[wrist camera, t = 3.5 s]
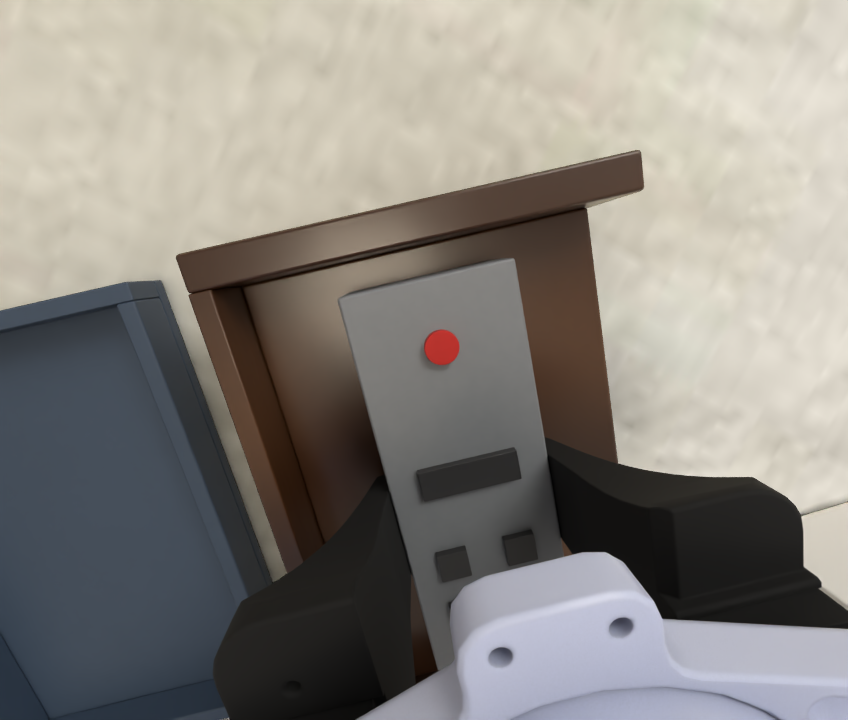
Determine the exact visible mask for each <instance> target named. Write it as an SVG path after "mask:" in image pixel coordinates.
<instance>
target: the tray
mask: <svg viewBox="0 0 848 720" xmlns="http://www.w3.org/2000/svg"><path fill="white" fill-rule="evenodd" d="M271 584H273V583H272V580H271V578H270V575H269V572H268V570H267V567H266V564H265V561H264V559H263V556H262V553H261V551H260V548H259V545H258V542H257V540H256V537H255V534H254V531H253V529H252V526H251V523H250V521H249V518H248V515H247V512H246V510H245V507H244V504H243V502H242V499H241V496H240V493H239V491H238V488H237V485H236V483H235V480H234V477H233V474H232V472H231V469H230V466H229V464H228V461H227V458H226V455H225V453H224V450H223V447H222V445H221V442H220V439H219V436H218V434H217V431H216V428H215V425H214V423H213V420H212V417H211V415H210V412H209V409H208V406H207V404H206V401H205V398H204V396H203V393H202V390H201V387H200V385H199V382H198V379H197V377H196V374H195V371H194V368H193V366H192V363H191V360H190V358H189V355H188V352H187V349H186V347H185V344H184V341H183V339H182V336H181V333H180V330H179V328H178V325H177V322H176V319H175V317H174V314H173V311H172V309H171V306H170V303H169V300H168V298H167V295H166V292H165V290H164V287H163V284H162V282H161V281H137V282H124V283H119V284H115V285H111V286H106V287H102V288H98V289H93V290H89V291H84V292H80V293H76V294H71V295H67V296H62V297H58V298H54V299H49V300H45V301H40V302H36V303H32V304H27V305H23V306H19V307H14V308H10V309H5V310H1V311H0V720H220V719H224V718H228V717H229V716H228V714H227V711H226V709H225V707H224V704H223V702H222V700H221V698H220V695H219V693H218V691H217V688H216V685H215V681H214V678H213V663H214V658H215V656H216V654H217V651H218V649H219V647H220V645H221V642H222V640H223V638H224V636H225V634H226V631H227V629H228V627H229V625H230V623H231V620H232V618H233V616H234V614H235V612H236V610H237V608H238V606H239V605H240V603H241V601H242V600H244V599H246V598H248V597H250V596H252V595H253V594H255V593H257V592H259V591H260V590H262V589H264V588H266V587H267V586H269V585H271Z"/></svg>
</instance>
